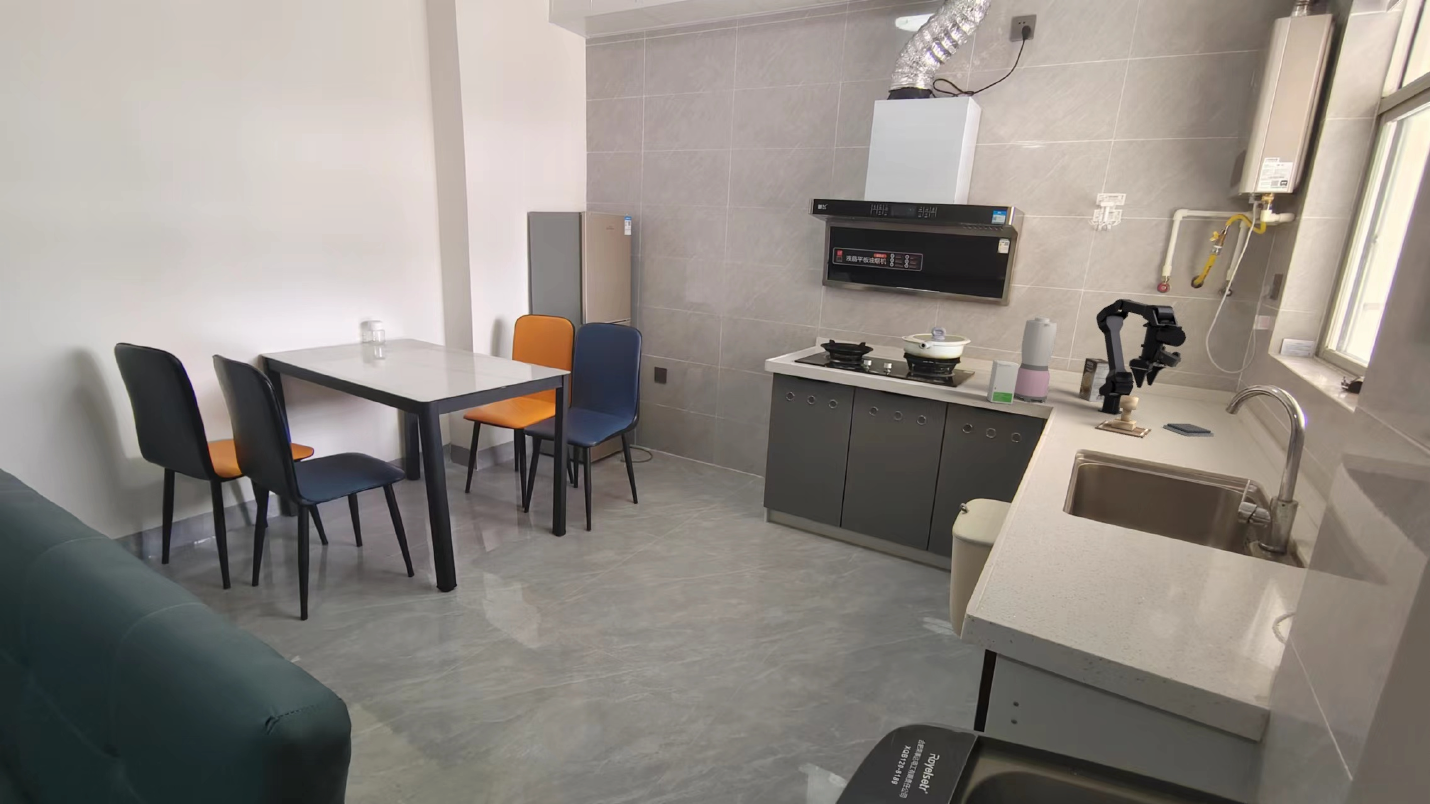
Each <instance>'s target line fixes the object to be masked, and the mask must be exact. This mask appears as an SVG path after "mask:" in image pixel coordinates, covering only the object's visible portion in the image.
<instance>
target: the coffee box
mask: <svg viewBox="0 0 1430 804" xmlns="http://www.w3.org/2000/svg"><path fill="white" fill-rule="evenodd" d="M1084 360H1085V361H1084V365H1083V366H1084V367H1083V371H1082V377H1081V381H1080V388H1079V393H1078V397H1080V398H1082V399H1084V400H1086V401H1088V402H1096V403H1097V402H1098V403H1103V401H1104V396H1103V395H1100V394H1099V388H1100V387H1101V386H1102V385H1104V384H1105V383H1106V376H1107V375H1108V373H1109V365H1108V360H1105V359H1102V358H1090V357H1086V358H1085V359H1084Z"/></svg>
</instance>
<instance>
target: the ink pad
mask: <svg viewBox="0 0 1430 804" xmlns="http://www.w3.org/2000/svg"><path fill="white" fill-rule="evenodd" d="M1163 429H1166V430H1169V431H1172V432H1174V433H1177V434H1180V435H1183V436H1185V437H1214V435H1215V433H1213V432H1211V431H1212V430H1209V429H1207V428H1205V427H1200V426H1197V425H1195V424H1192V423H1171V422H1170V423H1167V424H1163Z"/></svg>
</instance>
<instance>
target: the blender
mask: <svg viewBox="0 0 1430 804" xmlns="http://www.w3.org/2000/svg"><path fill="white" fill-rule="evenodd" d="M1050 320H1051V318H1049V317H1041V316H1038V317H1037V316H1035V317H1034V319H1027V320H1026V321H1025V325H1024V326H1025V327H1024V330H1023V336H1022V342H1021V362H1020V363H1021V364H1019V368H1018V374H1017V380H1016V385H1015V391H1014V396H1013V397H1017V398H1022V399H1023V401H1024V402H1025V403H1030V402H1031V400H1036V401H1040V403H1043V402H1044V403H1045V402H1046V400H1047V398H1048V396H1047V394H1048V390H1049V384H1050V379H1051V375H1050V371H1049V363H1050V361H1051V358H1052V354H1053V352H1054V349H1055V345H1056V339H1057V338H1056V337H1057V329H1058V323H1057V322H1055V321H1050Z"/></svg>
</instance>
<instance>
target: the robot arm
mask: <svg viewBox="0 0 1430 804" xmlns="http://www.w3.org/2000/svg"><path fill="white" fill-rule="evenodd" d="M1173 308H1174V307H1173V306H1171V305H1165V304H1163V305H1161V304H1147V303H1144V302H1138V301H1135V300H1132V299H1126V298H1119V299H1117V300H1115V301H1114V302H1113V303H1111V304H1108V305H1107V306H1105V307H1103V308H1102V309H1101V310H1100V311H1099V312H1098V313H1097V314H1096V318H1095V319H1096V324H1097V328H1098V329H1099V330H1100V331H1101V332H1102V333H1103V336H1104V342H1105V350H1106V356H1107V361H1108V365H1109V373H1108V375H1107V376H1106V383H1105V384H1104V385H1102V386H1101V387H1100V388H1099V394H1100V395H1103V396H1104V401H1103V402H1102V407H1101V408H1098V409H1097V411H1098V412H1102V413H1107V414H1112V415H1119V414H1122V410H1121V408H1120V407H1119V404H1120V399H1121V396H1122V395H1128V396H1131V395H1130V394H1131V393H1132V391H1133V389H1134V384H1135V386H1136V388H1137V389H1141V388H1142V387H1143V384H1144V382H1145V379H1146V382H1147V386H1152V385H1153V383H1155V381H1156V378H1157V376H1158V374H1160V371H1162V370H1164V369H1166V368H1167V367H1170V368H1174V367H1177V365H1178V364H1179V363H1180V362H1181V360H1182V357H1181V355H1182V353H1180V352H1179V351H1173V352H1171V351H1169V352H1168V351H1167V350H1166V349H1167V348H1166V346H1170V347H1175V348H1177V347H1178V348H1179V347H1180V346H1182V345H1184V343H1185V342H1186V339H1187V336H1186V335H1187V334H1186V333H1185V331H1184V330H1183V326H1182V325H1179V324H1178V323H1179V322H1178V320H1177V317H1176V315H1175V311H1174V309H1173ZM1129 313H1131V314H1134V315H1139V316H1141V317H1142V318H1143V320H1145V321H1147V322H1145V323H1143V324H1142V328H1146V329H1145V330H1146V331H1145V335H1144V339H1143V343H1141V344H1140V348H1141V349H1142V350H1141V353H1140V355H1138V357H1135V358H1132V359H1130V360H1129V362H1128V363H1129V364H1128V367H1129V369H1130V370H1131V371H1128V370H1126V367H1125V360H1124V359H1125V358H1124V354H1123V348H1122V347H1123V346H1122V341H1121V333H1120V332H1121V330H1122V328H1123V326H1124V321H1125V320H1126V319H1127V318H1128V317H1129Z"/></svg>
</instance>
